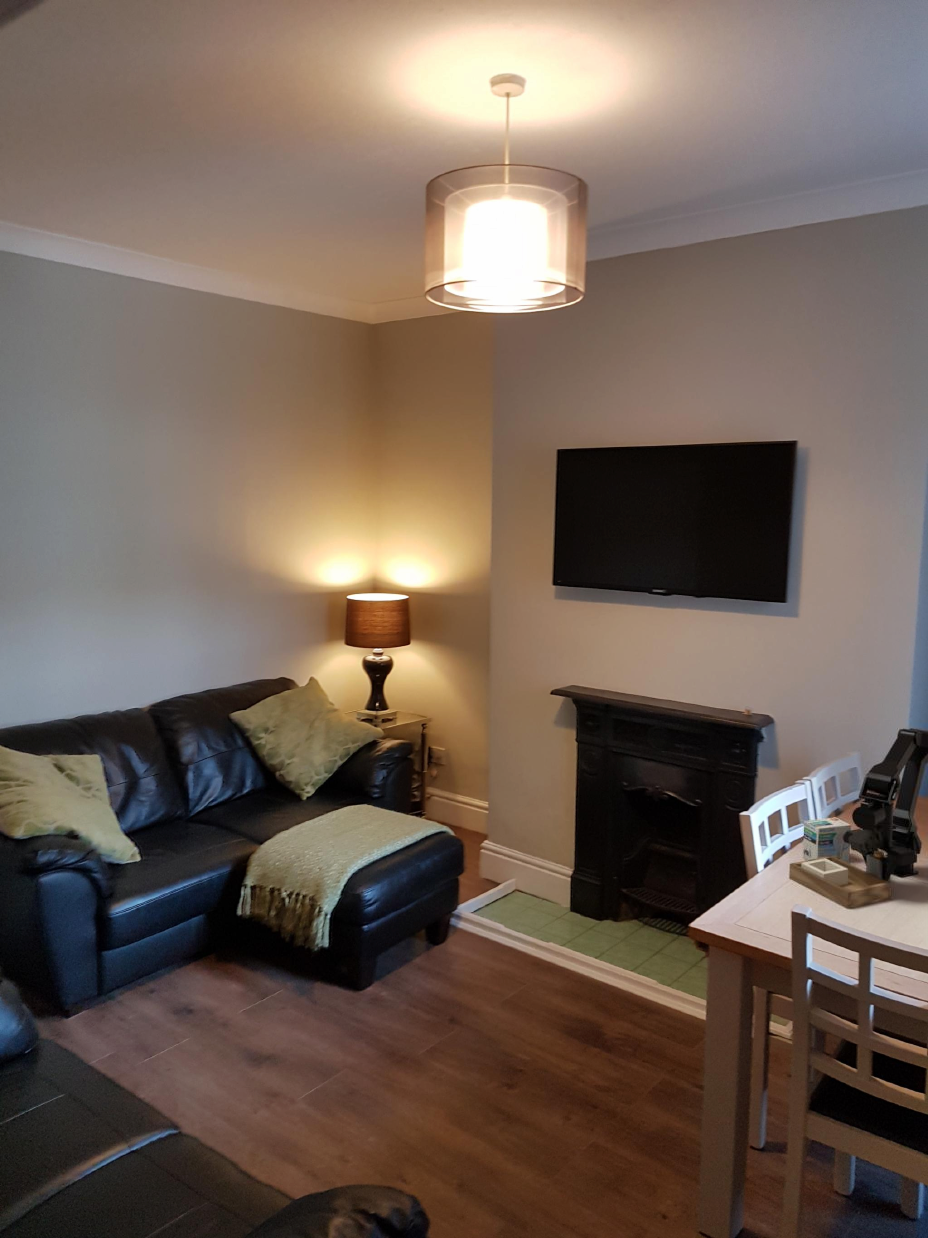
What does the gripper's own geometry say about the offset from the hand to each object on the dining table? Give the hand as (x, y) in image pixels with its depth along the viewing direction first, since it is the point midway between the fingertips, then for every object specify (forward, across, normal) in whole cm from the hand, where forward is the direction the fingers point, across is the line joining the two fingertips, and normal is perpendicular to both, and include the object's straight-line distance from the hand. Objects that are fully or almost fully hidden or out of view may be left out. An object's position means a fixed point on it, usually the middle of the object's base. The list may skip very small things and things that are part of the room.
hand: (877, 878), depth 234 cm
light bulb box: (+2, -19, +1) cm, 19 cm away
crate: (+2, -3, -10) cm, 11 cm away
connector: (+2, 0, 0) cm, 2 cm away
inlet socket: (+2, -7, -11) cm, 13 cm away
